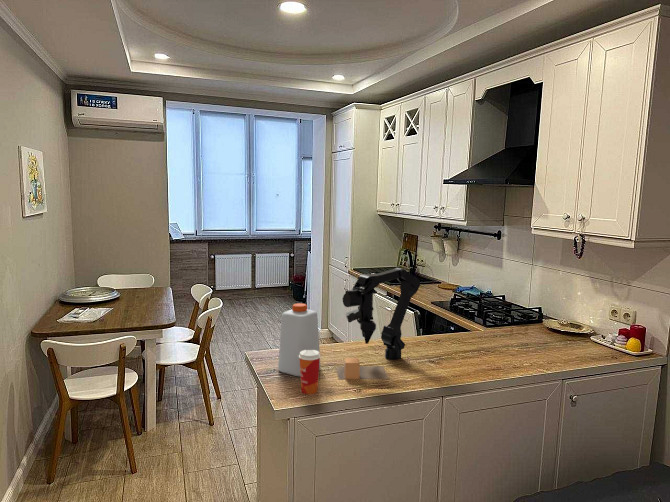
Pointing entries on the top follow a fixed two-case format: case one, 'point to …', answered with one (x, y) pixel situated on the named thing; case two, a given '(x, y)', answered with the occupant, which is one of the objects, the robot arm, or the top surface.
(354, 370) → the square block
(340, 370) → the walnut board
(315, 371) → the coffee cup
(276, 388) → the top surface
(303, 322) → the plastic bottle
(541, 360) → the top surface
